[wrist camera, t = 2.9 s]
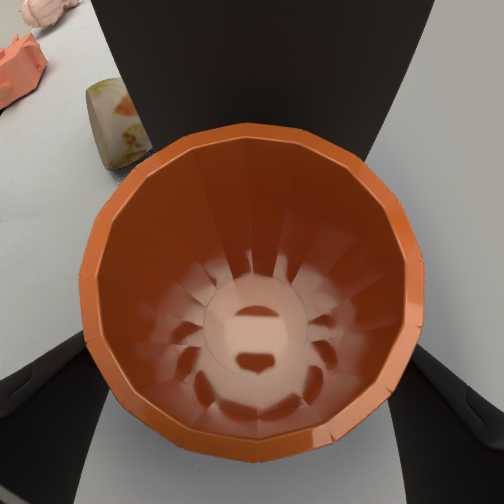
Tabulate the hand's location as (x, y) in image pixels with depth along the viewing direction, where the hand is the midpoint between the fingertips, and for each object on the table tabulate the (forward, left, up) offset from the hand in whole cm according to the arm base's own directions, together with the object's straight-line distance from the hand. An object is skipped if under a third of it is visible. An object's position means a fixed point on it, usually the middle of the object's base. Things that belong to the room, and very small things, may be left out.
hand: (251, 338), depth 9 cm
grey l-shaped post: (+6, -2, -9) cm, 11 cm away
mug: (+18, +4, -9) cm, 20 cm away
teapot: (+38, +25, -9) cm, 46 cm away
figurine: (+65, +26, -9) cm, 71 cm away
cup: (+1, 0, -9) cm, 9 cm away
